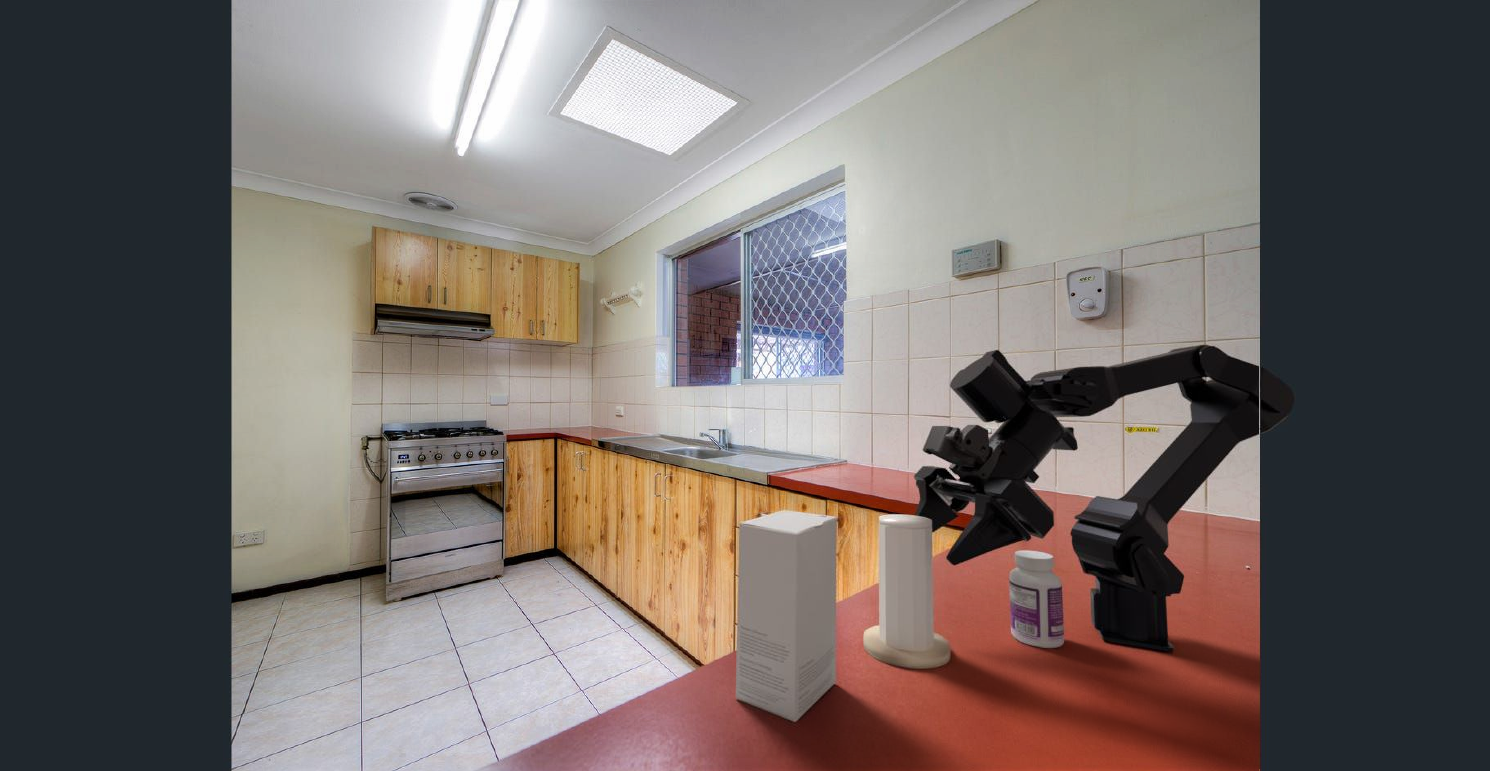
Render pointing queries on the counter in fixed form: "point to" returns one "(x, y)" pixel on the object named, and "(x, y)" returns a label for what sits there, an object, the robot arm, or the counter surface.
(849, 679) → the counter surface
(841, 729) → the counter surface
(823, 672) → the skincare box
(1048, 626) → the pill bottle
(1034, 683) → the counter surface
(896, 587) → the white plastic canister
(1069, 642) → the counter surface
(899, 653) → the post base
